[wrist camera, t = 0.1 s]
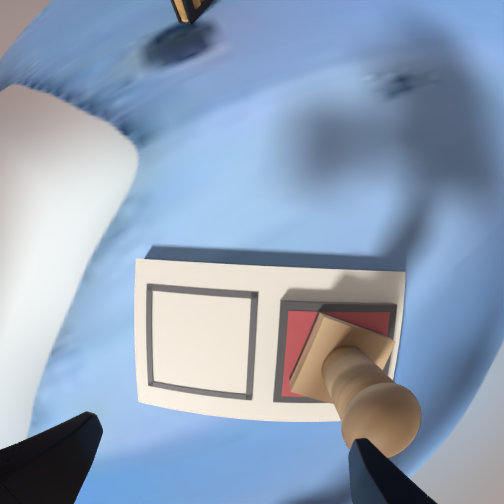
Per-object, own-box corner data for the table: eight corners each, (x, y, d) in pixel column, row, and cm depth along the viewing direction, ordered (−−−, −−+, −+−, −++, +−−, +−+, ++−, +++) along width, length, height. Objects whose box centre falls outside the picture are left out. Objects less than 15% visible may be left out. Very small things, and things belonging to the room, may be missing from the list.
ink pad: (391, 302, 21) (397, 304, 20) (378, 394, 21) (382, 400, 19) (280, 299, 22) (280, 301, 20) (273, 396, 21) (272, 402, 20)
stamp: (382, 333, 20) (474, 390, 8) (352, 396, 20) (408, 491, 8) (318, 310, 20) (370, 363, 8) (289, 377, 20) (300, 481, 8)
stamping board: (398, 271, 22) (406, 271, 21) (379, 410, 22) (384, 417, 20) (143, 259, 24) (135, 258, 22) (145, 395, 24) (138, 402, 22)
